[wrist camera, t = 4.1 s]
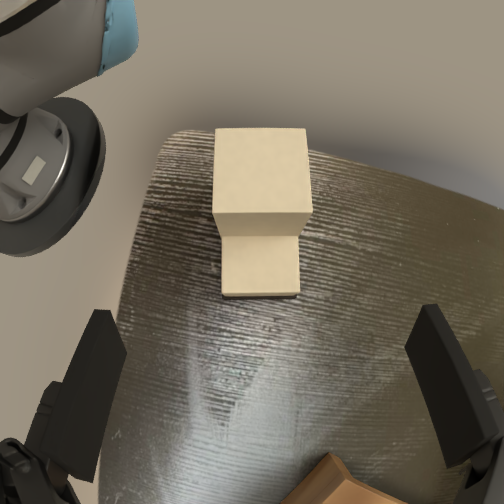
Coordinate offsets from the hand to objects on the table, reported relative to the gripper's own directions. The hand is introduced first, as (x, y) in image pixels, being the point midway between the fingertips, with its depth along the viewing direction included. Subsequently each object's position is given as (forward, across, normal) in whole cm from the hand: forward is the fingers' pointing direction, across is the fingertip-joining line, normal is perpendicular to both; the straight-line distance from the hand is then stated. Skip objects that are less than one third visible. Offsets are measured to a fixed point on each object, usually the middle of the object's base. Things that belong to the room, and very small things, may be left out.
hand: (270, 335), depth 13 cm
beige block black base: (+16, 0, -5) cm, 17 cm away
